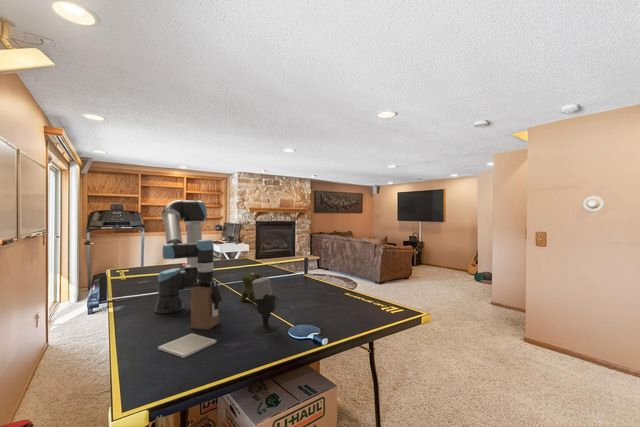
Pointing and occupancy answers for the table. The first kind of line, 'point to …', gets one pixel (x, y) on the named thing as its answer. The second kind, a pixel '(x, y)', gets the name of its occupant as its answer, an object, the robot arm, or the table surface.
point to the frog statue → (249, 285)
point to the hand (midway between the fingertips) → (205, 313)
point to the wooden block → (202, 308)
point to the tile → (187, 345)
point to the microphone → (264, 306)
